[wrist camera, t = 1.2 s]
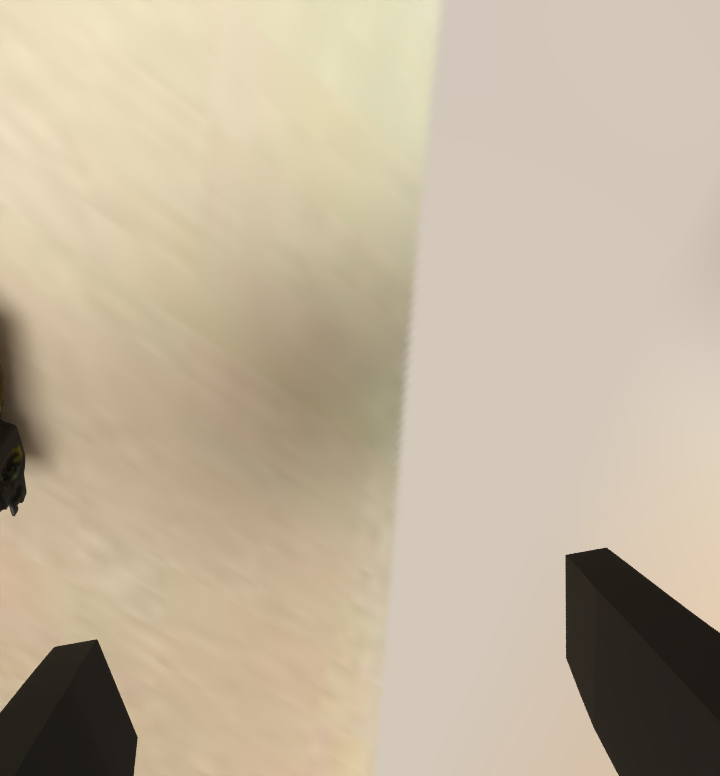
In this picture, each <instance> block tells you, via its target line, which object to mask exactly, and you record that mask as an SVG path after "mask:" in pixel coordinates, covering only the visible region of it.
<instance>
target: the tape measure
mask: <svg viewBox="0 0 720 776" xmlns="http://www.w3.org/2000/svg"><path fill="white" fill-rule="evenodd" d="M3 395H4V384H3V375H2V369H1V366H0V415H1V409H2V403H3ZM24 469H25V452H24V449H23V446H22V442H21V439H20V436H19V433H18V430H17V428H16V426H15V425H14V424H11V423H7V422H4V421H1V420H0V512H1V511H2V510H4V509H7V507H8V506H9V507H10V511H11V513H12V516H15V515H16V513H17V511H18V506H17V505H18V504H19V503H22V502H23V501H24V498H25V495H26V485H25V478H24Z"/></svg>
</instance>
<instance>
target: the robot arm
mask: <svg viewBox="0 0 720 776" xmlns="http://www.w3.org/2000/svg"><path fill="white" fill-rule="evenodd" d="M566 659H567V661H568V664H569V666H570V669H571V672H572V674H573V677H574V679H575V682H576V684H577V687H578V690H579V692H580V695H581V697H582V700H583V702H584V705H585V707H586V710H587V712H588V715H589V717H590V719H591V722H592V724H593V727H594V729H595V731H596V733H597V734H598V737H599V739H600V740H601V742H602V744H603V746H604V748H605V750H606V752H607V754H608V756H609V758H610V760H611V762H612V763H613V765H614V767H615V769H616V771H617V773H618V775H619V776H720V633H719V632H718V631H716V630H715V629H714V628H712V627H710V626H709V625H708V624H707V623H705V622H704V621H702V620H701V619H700V618H698V617H697V616H696V615H694V614H693V613H692V612H690V611H689V610H688V609H686V608H685V607H684V606H682V605H681V604H680V603H678V602H677V601H676V600H675V599H673V598H672V597H670V596H669V595H668V594H667V593H665V592H664V591H663V590H661V589H660V588H659V587H657V586H656V585H655V584H653V583H652V582H651V581H650V580H648V579H647V578H646V577H644V576H643V575H642V574H641V573H639V572H638V571H637V570H635V569H634V568H633V567H631V566H630V565H629V564H628V563H626V562H625V561H623V560H622V559H621V558H620V557H618V556H617V555H616V554H614V553H613V552H612V551H610V550H609V549H608V548H602V549H596V550H591V551H585V552H580V553H574V554H569V555H566ZM137 738H138V737H137V735H136V732H135V730H134V728H133V725H132V723H131V720H130V718H129V715H128V713H127V710H126V708H125V706H124V703H123V701H122V698H121V696H120V693H119V691H118V689H117V686H116V684H115V681H114V679H113V676H112V674H111V671H110V669H109V667H108V664H107V662H106V659H105V657H104V654H103V652H102V650H101V647H100V645H99V642H98V640H97V639H96V640H91V641H85V642H79V643H74V644H68V645H63V646H57V647H54V648H53V649H52V650H51V652H50V653H49V654H48V655H47V656H46V657H45V659H44V660H43V661H42V662H41V663H40V665H39V666H38V667H37V668H36V669H35V671H34V672H33V673H32V674H31V675H30V677H29V678H28V679H27V680H26V682H25V683H24V684H23V685H22V687H21V688H20V689H19V690H18V691H17V693H16V694H15V695H14V696H13V698H12V699H11V700H10V701H9V703H8V704H7V705H6V706H5V708H4V709H3V710H2V711H1V712H0V776H134V766H135V757H136V748H137Z"/></svg>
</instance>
